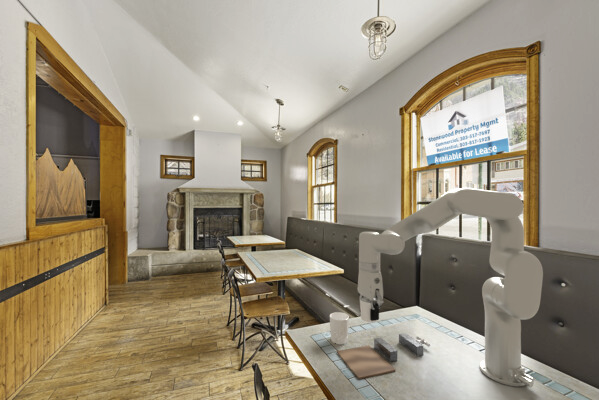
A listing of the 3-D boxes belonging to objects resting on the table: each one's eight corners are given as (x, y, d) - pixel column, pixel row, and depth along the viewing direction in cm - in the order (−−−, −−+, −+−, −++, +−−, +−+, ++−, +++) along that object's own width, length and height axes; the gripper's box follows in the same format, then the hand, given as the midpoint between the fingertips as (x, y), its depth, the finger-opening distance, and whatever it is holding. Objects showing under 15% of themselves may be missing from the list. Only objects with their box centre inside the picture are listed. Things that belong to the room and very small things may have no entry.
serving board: (395, 371, 89) (395, 369, 89) (358, 379, 85) (358, 377, 85) (369, 346, 105) (369, 345, 105) (336, 352, 100) (336, 351, 100)
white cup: (334, 346, 105) (334, 321, 105) (326, 336, 112) (326, 313, 112) (352, 343, 107) (352, 318, 107) (343, 334, 114) (344, 311, 114)
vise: (434, 352, 101) (434, 343, 101) (390, 361, 95) (390, 352, 95) (415, 339, 110) (415, 331, 110) (374, 347, 104) (374, 338, 104)
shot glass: (377, 314, 99) (377, 296, 99) (380, 323, 92) (380, 303, 92) (358, 313, 100) (358, 295, 100) (360, 322, 93) (360, 302, 93)
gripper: (393, 271, 89) (393, 325, 89) (365, 260, 106) (365, 305, 105) (373, 272, 87) (373, 328, 87) (348, 261, 103) (348, 307, 103)
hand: (369, 315), depth 96 cm, fingers closed on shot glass, 6 cm apart
